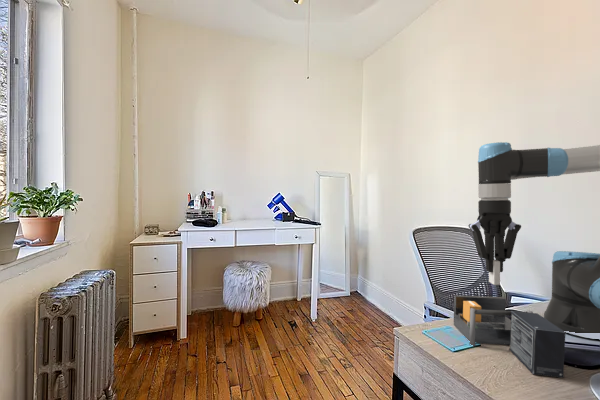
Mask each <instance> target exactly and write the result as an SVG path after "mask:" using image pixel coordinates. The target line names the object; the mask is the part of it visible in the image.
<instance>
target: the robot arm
mask: <svg viewBox="0 0 600 400" xmlns="http://www.w3.org/2000/svg"><path fill="white" fill-rule="evenodd" d="M477 166H478V169H477V171H478V191H477V192H478V198H479V201H478V209H477V211H478V215H477V219H476V221H475V222H474V223H469V224H468V228H469V229H470V231H471V232H472V236H473V237H472V238H473V241H474V244H475V248H476V252H477V255H478V257H480V258H481V259H484V260H485V270H486V271H487V272H488V283H491V284H492V285H494V286H500V285H501V273H503V271H504V263H505V262H506V261H507V259H509V260H510V259H511V258H512V255H513V251H514V248H515V247H514V246H515V244H516V239H517V236H518V233H519V231H520V230H521V228H522V225H521V224H518V223H516V222H514V221H513V219H512V217H511V213H512V200H509V199H510V198H512V181H513V180H519V179H521V180H522V179H530V178H531V179H532V178H542V177H543V178H545V177H547V178H549V177H559V176H562V175H571V174H572V175H573V174H583V173H593V172H596V173H597V172H600V144H599V145H598V144H597V145H588V146H582V147H581V146H579V147H571V148H561V147H545V148H533V149H532V148H530V149H529V148H528V149H526V148H525V149H513V148H512V145H511V143H510V142H508V141H505V142H502V141H500V142H491V143H485V144H483V145H481V146H480V147H479V148H478V159H477ZM481 229H483V234H484V237H483V234H482V231H481ZM506 230H507V231H506ZM551 264H552V267H551V298H550V301H549V303H548V304H547V307H546V309H545V311H543V318H545V319H546V320H548V321H549V322H551V323H552V324H554V325H555V326H557V327H558V328H560V329H561V330H563V331H569V332H575V333H600V253H597V252H587V251H586V252H584V251H570V250H569V251H568V250H567V251H566V250H559V251H557V250H556V251H554V253H553V255H552V261H551Z"/></svg>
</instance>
